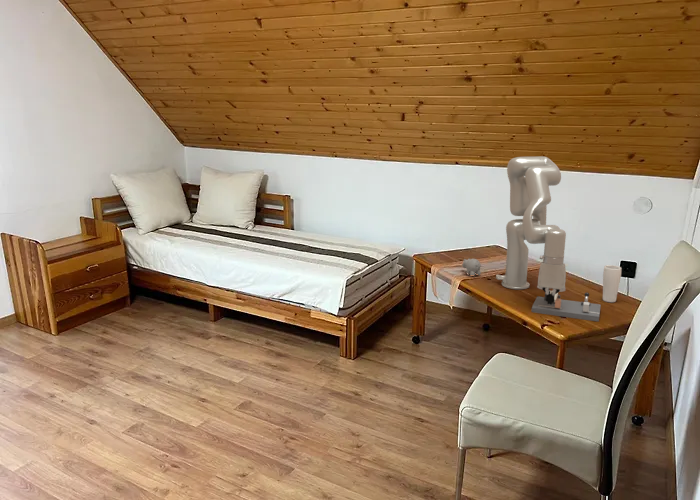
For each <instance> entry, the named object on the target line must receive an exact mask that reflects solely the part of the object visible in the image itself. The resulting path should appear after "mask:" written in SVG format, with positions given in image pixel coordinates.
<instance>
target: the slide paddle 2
mask: <svg viewBox="0 0 700 500" xmlns="http://www.w3.org/2000/svg"><path fill="white" fill-rule="evenodd" d="M583 302H584V305H583V311H584V312H589V301H588V302H585V301H583Z"/></svg>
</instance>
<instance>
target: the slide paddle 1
mask: <svg viewBox="0 0 700 500" xmlns="http://www.w3.org/2000/svg"><path fill="white" fill-rule="evenodd" d="M561 299H562V298H560V299H558V297H557V298H556V300H555V308H560V307H561Z"/></svg>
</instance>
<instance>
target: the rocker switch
mask: <svg viewBox="0 0 700 500" xmlns="http://www.w3.org/2000/svg"><path fill="white" fill-rule="evenodd" d="M552 292H553V290H550V293H552ZM558 295H559V292H558V293H557V294H555V297H554V302H555V300H556V298H558Z"/></svg>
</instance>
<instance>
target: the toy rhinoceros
mask: <svg viewBox="0 0 700 500" xmlns="http://www.w3.org/2000/svg"><path fill="white" fill-rule="evenodd" d="M461 266H462V268H464V269H466V273H468V274H470V275H475V276H476V274H478V275H479V276H481V275H480V274H482V271H481V268H482V267H481V262H480V261H479V260H478V259H477V258H470V257H469V258H468V259H465V258H464V259H463V262H462V265H461ZM466 273H465V274H466ZM475 273H476V274H475ZM470 275H469V276H470Z"/></svg>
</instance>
